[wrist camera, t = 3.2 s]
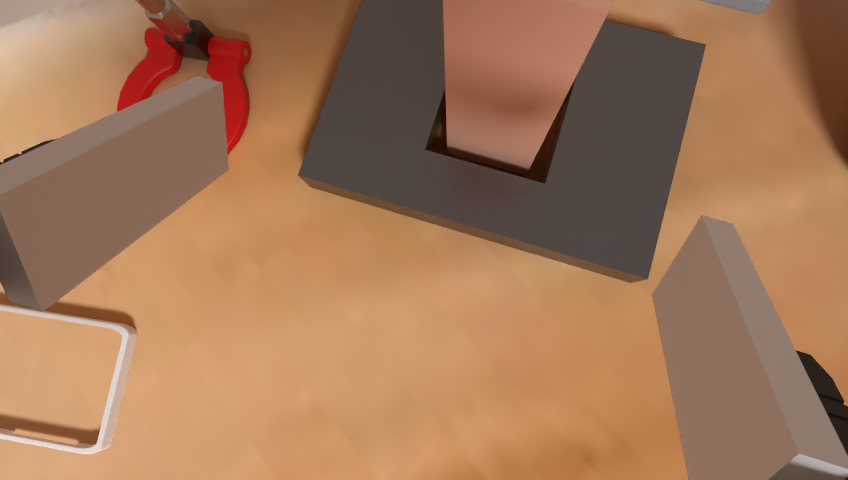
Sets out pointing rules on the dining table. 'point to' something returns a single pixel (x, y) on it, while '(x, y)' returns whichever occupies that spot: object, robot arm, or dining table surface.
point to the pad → (743, 4)
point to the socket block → (499, 191)
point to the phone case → (114, 394)
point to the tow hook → (190, 42)
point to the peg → (511, 73)
